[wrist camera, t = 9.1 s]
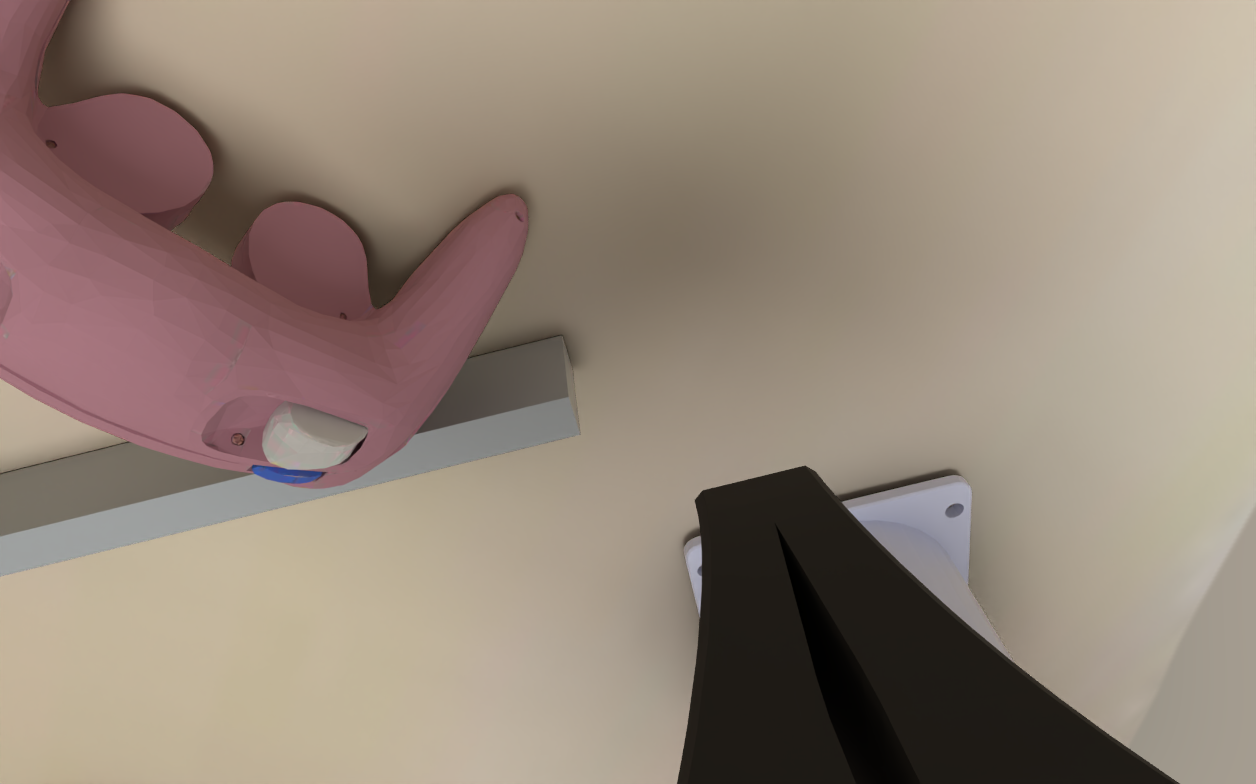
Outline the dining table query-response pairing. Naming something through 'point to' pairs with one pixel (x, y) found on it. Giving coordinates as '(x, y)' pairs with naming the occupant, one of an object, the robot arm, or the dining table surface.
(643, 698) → the dining table surface
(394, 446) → the video game controller
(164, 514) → the grey bin
